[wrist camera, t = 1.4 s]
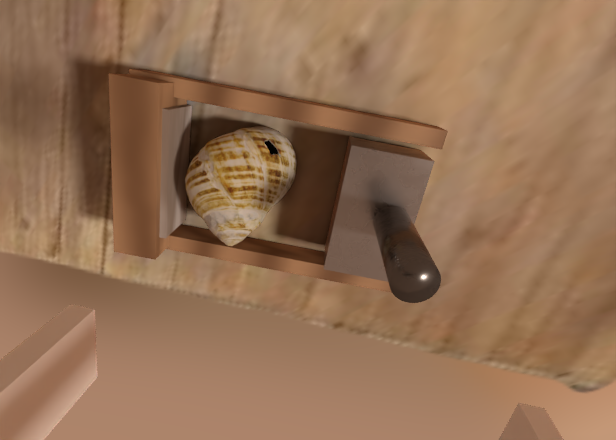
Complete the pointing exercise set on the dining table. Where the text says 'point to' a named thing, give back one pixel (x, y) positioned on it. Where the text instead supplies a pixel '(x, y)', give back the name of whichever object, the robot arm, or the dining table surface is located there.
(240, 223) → the seashell
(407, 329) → the dining table surface
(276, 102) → the press frame
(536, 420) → the robot arm
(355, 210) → the grey plunger
